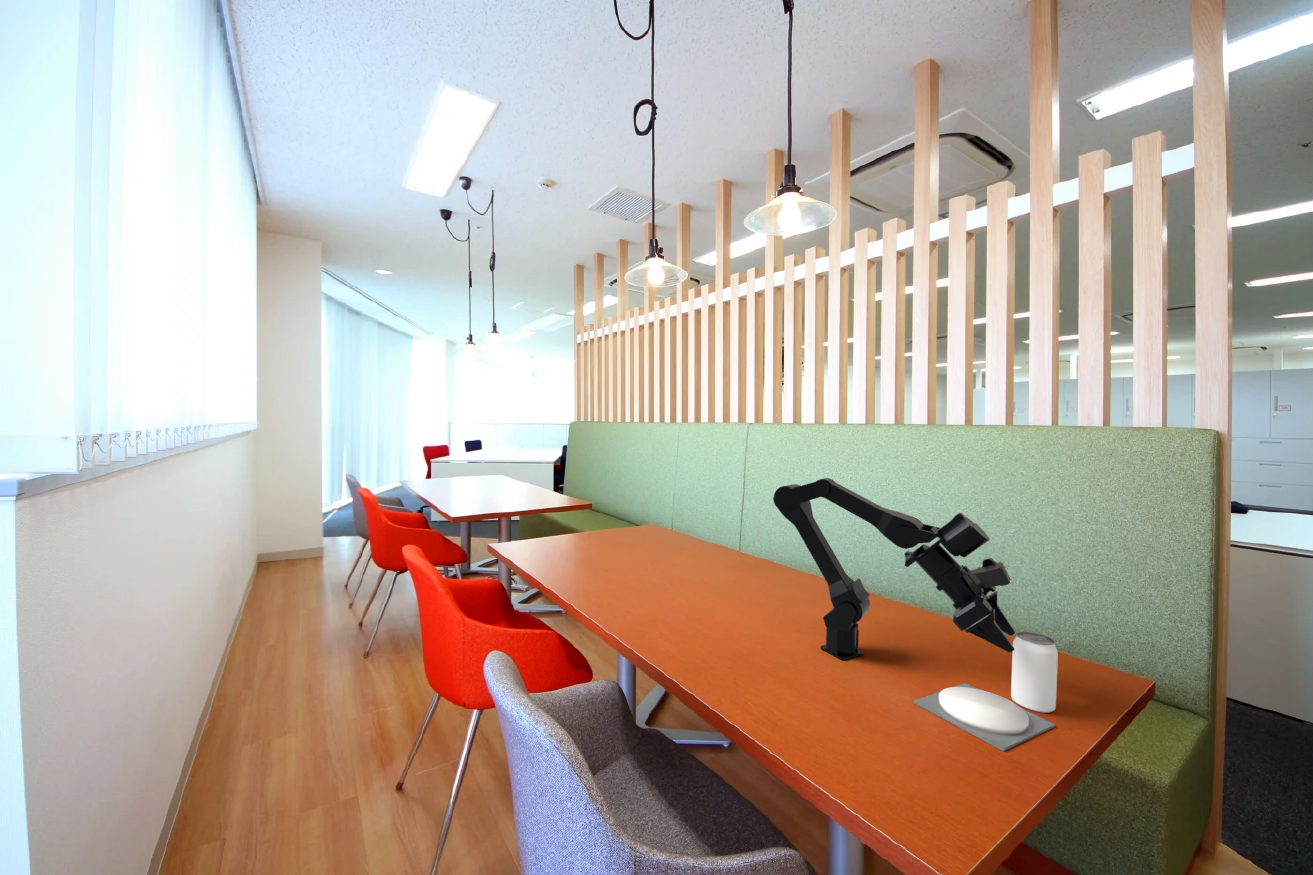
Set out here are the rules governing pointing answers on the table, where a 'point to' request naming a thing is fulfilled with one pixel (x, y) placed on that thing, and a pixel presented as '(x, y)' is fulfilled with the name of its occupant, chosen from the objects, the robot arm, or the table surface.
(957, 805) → the table surface
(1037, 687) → the can
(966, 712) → the dish
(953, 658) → the table surface
